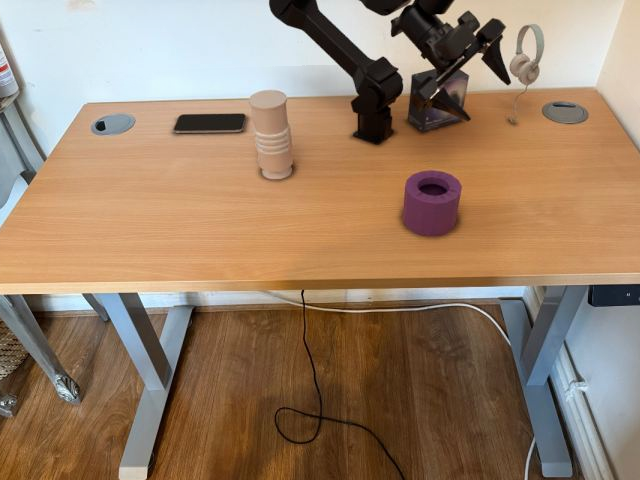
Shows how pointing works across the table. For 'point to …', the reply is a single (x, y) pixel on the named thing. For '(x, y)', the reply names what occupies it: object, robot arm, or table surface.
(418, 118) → the small box
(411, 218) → the jar
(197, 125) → the smartphone
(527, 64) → the headphones
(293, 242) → the table surface
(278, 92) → the beige ribbed cylinder
